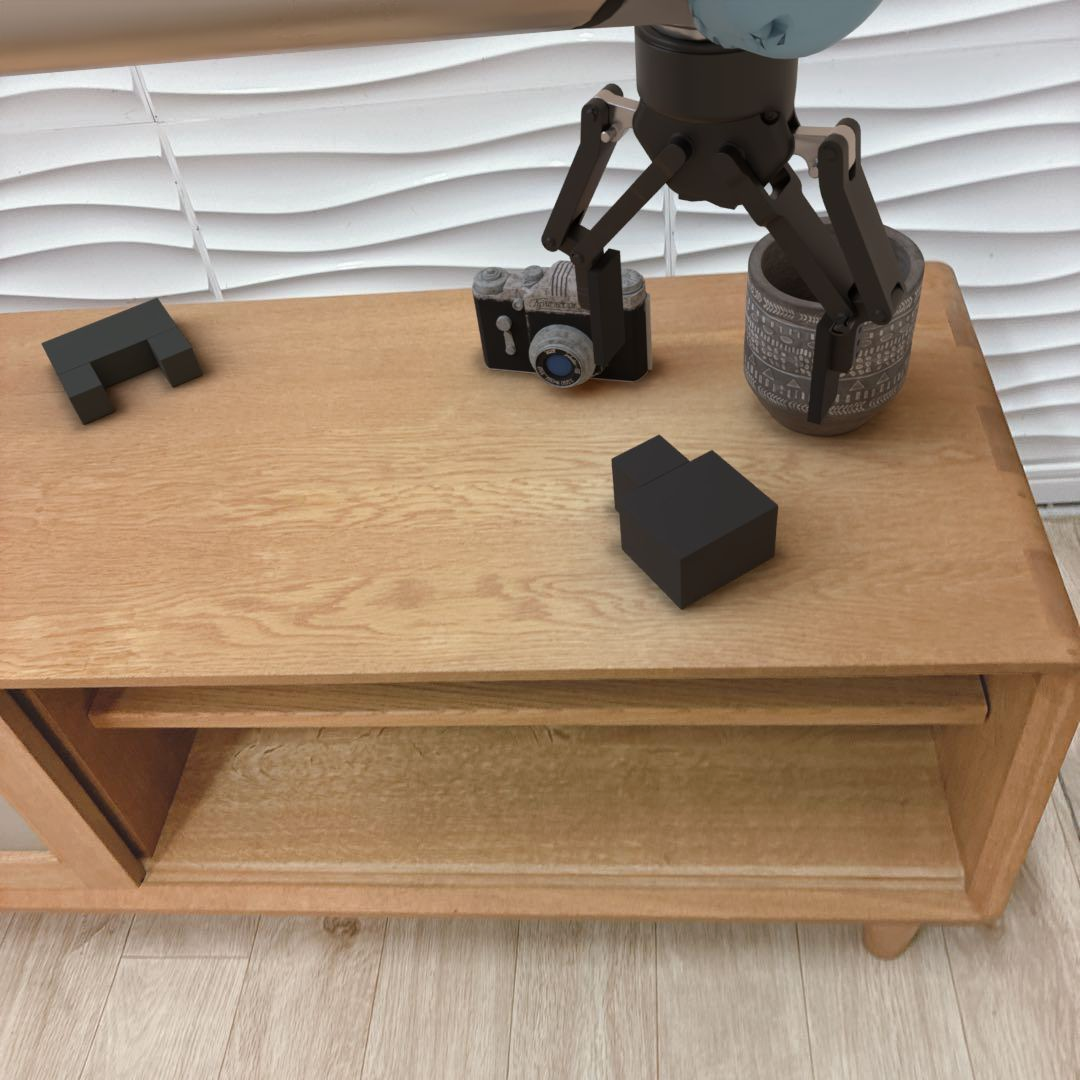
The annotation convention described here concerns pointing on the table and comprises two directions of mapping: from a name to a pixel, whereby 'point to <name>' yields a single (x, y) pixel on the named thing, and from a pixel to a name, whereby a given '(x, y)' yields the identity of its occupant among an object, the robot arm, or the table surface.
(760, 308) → the planter
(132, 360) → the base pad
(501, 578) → the table surface
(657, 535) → the pad
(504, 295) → the camera
